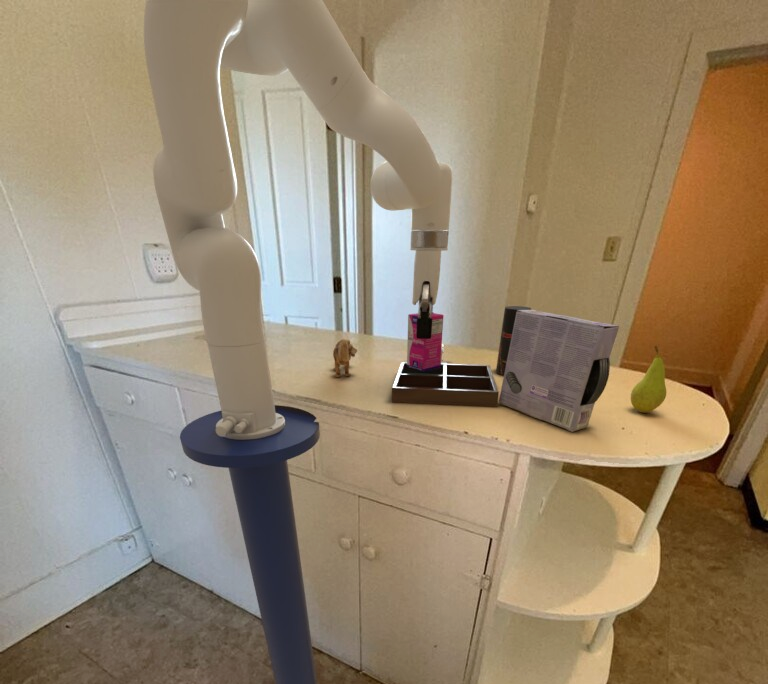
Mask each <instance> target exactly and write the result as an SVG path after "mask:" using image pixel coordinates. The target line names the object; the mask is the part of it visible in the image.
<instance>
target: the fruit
mask: <svg viewBox="0 0 768 684" xmlns="http://www.w3.org/2000/svg"><path fill="white" fill-rule="evenodd" d="M654 350H655V352H656V356H655V357H654V358H653V361H652V363H651V365H650V366H649V367H648V369H647V371H646V373H645V375H643V377H642V379H641V380H640V381H639V382H638V383H636V385H635V386H634V387H633V388H632V390H631V393H630V403H631V405H632V407H633V409H635V411H637V412H639V413H642V414H643V413H645V414H647V413H650V412H653V411H655V410H656V409H657V408H659V407H660V406H661V405H662V404H663V403H664V401H665V399H666V397H667V388H666V369H665V363H664V360H663V358H662V357H661V356H659V348H658V346H657V345H655V346H654Z"/></svg>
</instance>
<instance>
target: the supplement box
mask: <svg viewBox="0 0 768 684" xmlns="http://www.w3.org/2000/svg"><path fill="white" fill-rule="evenodd" d="M444 316H445V315H444V314H441V313H435V312H434V313H431V318H432V334H431V338H430V339H418V338H417V337H416V333H417V318H418V312H416V313H410V314H407V341H406V342H407V344H406V348H407V349H406V363H407V367H410V368H414V369H418V370H420V371H428V370H432V369H437V368H440V363H441V348H442V342H443V329H444Z"/></svg>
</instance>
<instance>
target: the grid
mask: <svg viewBox="0 0 768 684" xmlns="http://www.w3.org/2000/svg"><path fill="white" fill-rule="evenodd" d="M499 393H500V392H499V389H498V386H497V383H496V379H495V377H494V374H493V372H492V368H491V366H490V364H465V363H460V364H459V363H448V364H440V368H437V369H432V370H428V371H420V370H418V369H414V368H410V367H407V361H406V362H404V361H403V362H401V363H400V365H399V368H398V370H397V374H396V375H395V379H394V381H393V384H392V387H391V403H401V404H403V403H404V404H426V405H448V406H469V407H470V406H471V407H494V408H495V407H496V408H497V406H498V401H499V395H500V394H499Z"/></svg>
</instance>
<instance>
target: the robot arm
mask: <svg viewBox="0 0 768 684" xmlns="http://www.w3.org/2000/svg"><path fill="white" fill-rule="evenodd" d="M143 44H144V45H143V47H144V55H145V62H146V68H147V74H148V78H149V79H148V80H149V83H150V88H151V93H152V97H153V98H152V99H153V103H154V108H155V113H156V117H157V120H158V125H159V130H160V134H161V139H162V146H161V147H160V148H158V149H159V150H158V151H157V153H156V155H155V157H154V161H153V170H152V171H153V182H154V183H153V184H154V189H155V194H156V197H157V201H158V205H159V209H160V212H161V217H162V220H163V224H164V227H165V231H166V234H167V238H168V239H167V240H168V242H169V246H170V249H171V253H172V256H173V259H174V262H175V265H176V268H177V270H178V271H179V274H180V275H181V276H182V278H183V279H184V281H185V282H186V283H188V285H190V287H192V288H193V289H195V290H197V291H198V292H199V300H200V311H201V320H202V325H203V331H204V336H205V341H206V344H207V345H206V346H207V348H208V355H209V359H210V362H211V368H212V373H213V378H214V382H215V386H216V387H215V388H216V391H217V396H218V401H219V405H220V411H222V416H223V418H222V419H221V420H220V421H218V423H217V424H216V433H217V435H219V436H220V437H225V438H229V439H235V440H251V439H259V438H264V437H268V436H271V435H274V434H276V433H278V432H280V431H281V430H282V429H283V428H284V427H285V419H284V417H283V416H282V415H280V414H278V413H275V405H276V404H275V399H274V392H273V385H272V379H271V370H270V364H269V356H268V349H267V342H266V341H267V340H266V336H265V329H264V322H263V321H264V319H263V312H262V311H263V310H262V309H263V308H262V275H261V268H260V263H259V259H258V257H257V254H256V252H255V250H254V248H253V247H252V245H251V244H250V243H249V242H248V241H247V240H246V238H244V237H243V236H242V235H241V234H240V233H237V232H236V231H234V230H232V229H229V228H226V226H225V221H224V217H223V216H224V215H223V214H225V213H227V212H229V211H230V210H231V209H232V208H233V206H234V204H235V203H236V201H237V197H238V181H237V175H236V169H235V165H234V159H233V155H232V149H231V145H230V139H229V134H228V128H227V122H226V118H225V111H224V105H223V97H222V89H221V69H222V70H229V71H233V72H240V73H244V74H251V75H258V76H269V77H272V76H273V77H274V76H280V75H282V74H284V73H286V72H288V71H289V72H290V75H292V77H293V78H294V79H295V81H296V82H297V84H298V85H299V86H300V88H301V89H302V90H303V92H304V93H305V95H306V96H307V98H308V99H309V100H310V102H311V104H312V105H313V106H314V107H315V109H316V111H317V112H318V114H319V115H320V116H321V118H322V119H323V121H324V122H325V124H326V125H327V126H328V127H329V128H330V130H332V131H333V132H335V133H337V134H339V135H340V136H343V137H344V138H347V139H349V140H352V141H355V142H357V143H360V144H362V145H364V146H367V147H368V148H370V149H372V150H373V151H375V152H376V153H377V154H379V155H380V156H381V157H382V158H383V159H384V160H385V161H383V162H381V163H380V164H379V165H378V166H377V167H376V168H375V169H374V170H373V173H372V175H371V177H370V181H369V182H370V183H369V184H370V185H369V188H370V194H371V196H372V199H373V200H374V202H375V203H376V204H377V206H379V207H380V208H382V209H384V210H387V211H394V212H395V211H405V210H411V217H410V220H411V221H410V251H415V253H414V263H413V265H414V266H413V280H412V281H413V282H412V283H413V284H412V286H413V287H412V303H411V304H412V305H413V306H416V305H417V303H418V312H417V313H418V318H417V333H416V337H417V338H418V339H430V338H431V334H432V318H431V313H435V312H434V305H435V304H436V302H437V298H438V293H439V287H440V286H439V285H440V275H441V263H442V251H448V248H449V245H448V244H449V233H450V232H449V230H450V220H451V219H450V218H451V206H452V190H453V175H454V174H453V169H452V166H451V165H450V164H449V163H446V162H439V161H438V158H437V156H436V153H435V152H434V150H433V147H432V145H431V144H430V141H429V140H428V138H427V136H426V135H425V133H424V131H423V129H422V128H421V127H420V125H419V123H418V122H417V121H416V120H415V118H414V117H413V116H412V115H411V114H410V113H409V112H408V111H407V110H406V109H405V108H403V106H401V105H400V104H399V103H397V101H396V100H395V99H393V98H392V97H391V96H390V95H389V94H387V93H386V92H385V91H384V90H382V89H381V88H380V87H378V85H376V84H374V83H373V81H371V79H370V77H368V75H367V73H366V72H365V71H364V69H363V67H362V65H361V63H360V62H359V60H358V58H357V57H356V55H355V54H354V52H353V49H352V48H351V47H350V45H349V43H348V41H347V40H346V38H345V36H344V35H343V32H342V31H341V29H340V28H339V26H338V24H337V22H336V21H335V19H334V18H333V16H332V14H331V12H330V11H329V9H328V7H327V6H326V4H325V2H324V0H145V5H144V15H143Z"/></svg>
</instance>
